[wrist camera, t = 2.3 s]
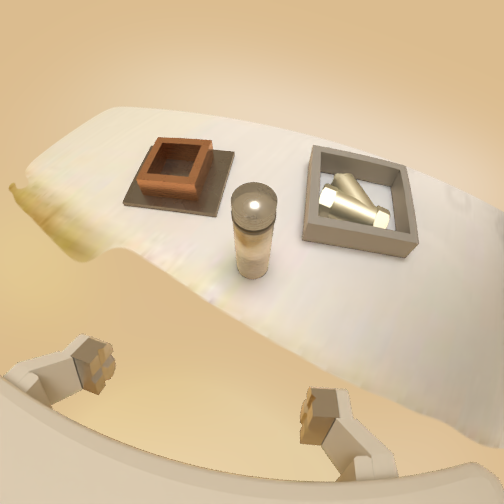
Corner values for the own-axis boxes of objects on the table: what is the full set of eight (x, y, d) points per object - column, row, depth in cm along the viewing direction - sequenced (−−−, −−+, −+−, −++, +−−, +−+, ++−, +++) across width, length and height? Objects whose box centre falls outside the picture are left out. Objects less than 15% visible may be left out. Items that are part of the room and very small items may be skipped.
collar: (234, 155, 37) (233, 134, 34) (216, 217, 32) (212, 197, 29) (152, 148, 38) (146, 130, 34) (124, 205, 33) (113, 187, 30)
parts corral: (396, 182, 35) (405, 166, 32) (405, 257, 30) (418, 243, 27) (308, 164, 36) (313, 144, 33) (302, 240, 31) (307, 222, 28)
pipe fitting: (327, 182, 36) (311, 219, 33) (335, 160, 32) (319, 196, 29) (383, 206, 34) (374, 246, 31) (395, 186, 31) (388, 226, 28)
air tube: (270, 252, 31) (280, 185, 21) (266, 282, 29) (274, 223, 19) (239, 247, 31) (235, 179, 21) (233, 276, 29) (225, 215, 19)
